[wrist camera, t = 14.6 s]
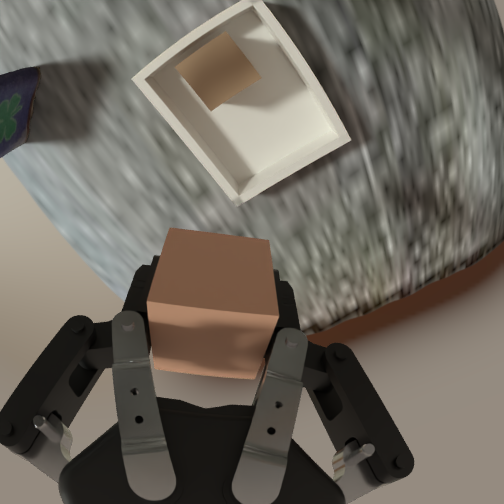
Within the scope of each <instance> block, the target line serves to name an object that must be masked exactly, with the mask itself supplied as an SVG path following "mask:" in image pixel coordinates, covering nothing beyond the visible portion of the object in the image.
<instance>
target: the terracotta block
mask: <svg viewBox="0 0 504 504" xmlns="http://www.w3.org/2000/svg"><path fill="white" fill-rule="evenodd" d="M147 310H148V320H149V329H150V337H151V345H152V353H153V360H154V367H155V369H159V370H165V371H173V372H180V373H188V374H198V375H207V376H217V377H229V378H243V379H255V377H256V375H257V372H258V370H259V367H260V365H261V362H262V359H263V357H264V354H265V352H266V349H267V347H268V344H269V342H270V339H271V336H272V334H273V331H274V328H275V326H276V323H277V320H278V318H279V311H278V303H277V295H276V288H275V280H274V273H273V266H272V258H271V251H270V244H269V240H264V239H256V238H249V237H241V236H233V235H225V234H217V233H209V232H201V231H193V230H185V229H177V228H169V231H168V234H167V237H166V240H165V243H164V246H163V249H162V252H161V255H160V259H159V262H158V265H157V268H156V271H155V275H154V278H153V281H152V285H151V288H150V291H149V295H148V298H147Z"/></svg>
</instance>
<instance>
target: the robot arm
mask: <svg viewBox="0 0 504 504" xmlns="http://www.w3.org/2000/svg"><path fill="white" fill-rule="evenodd" d="M159 259H160V256H157V255H154V257H153V260H152V263H151V266H150V265H142V266H141V267H140V268H139V269H138V270H137V271H136V272H135V275H134V278H133V281H132V283H131V287H130V289H129V291H128V294H127V297H126V300H125V303H124V306H123V309H122V311H121V312H120V313H118V314H117V315H116V316H115V317H114V318H113V320H111V321H108V322H100V323H93V322H92V320H91V319H90V318H88V317H86V316H83V315H77V316H74V317H72V318H70V319H69V320H68V321H67V322H66V323H65V324H64V326H63V327H62V328H61V329H60V330H59V332H58V333H57V334H56V335H55V337H54V338H53V339H52V340H51V342H50V343H49V344H48V346H47V347H46V348H45V350H44V351H43V352H42V353H41V355H40V356H39V357H38V359H37V360H36V361H35V363H34V364H33V365H32V367H31V368H30V369H29V371H28V372H27V374H26V375H25V377H24V378H23V379H22V381H21V382H20V383H19V385H18V386H17V388H16V389H15V390H14V392H13V394H12V395H11V396H10V398H9V399H8V401H7V402H6V404H5V405H4V407H3V409H2V410H1V412H0V443H1V444H2V445H4V446H5V447H7V448H8V449H9V450H10V451H12V452H13V453H14V454H16V455H18V456H19V457H21V458H23V459H24V460H26V461H29V462H30V463H31V464H33V465H34V466H36V467H37V468H38V469H39V470H41V471H42V472H43V473H45V474H46V475H47V476H49V477H50V478H52V479H53V480H54V481H56V482H57V483H58V484H59V493H60V496H61V498H62V501H63V503H64V504H348V503H350V502H352V501H353V500H355V499H357V498H359V497H361V496H363V495H365V494H367V493H368V492H370V491H372V490H374V489H377V488H380V487H382V486H385V485H387V484H390V483H392V482H395V481H397V480H400V479H402V478H404V477H406V476H408V475H409V474H410V473H411V472H412V470H413V467H414V458H413V455H412V453H411V451H410V450H409V448H408V446H407V444H406V443H405V441H404V439H403V437H402V435H401V434H400V432H399V430H398V428H397V427H396V425H395V423H394V421H393V420H392V418H391V416H390V414H389V413H388V411H387V409H386V408H385V406H384V404H383V402H382V400H381V399H380V397H379V395H378V394H377V392H376V390H375V388H374V387H373V385H372V383H371V382H370V380H369V378H368V377H367V375H366V373H365V372H364V370H363V368H362V367H361V365H360V363H359V362H358V360H357V358H356V357H355V355H354V353H353V352H352V350H351V349H350V348H349V347H348V346H346V345H344V344H341V343H332V344H330V345H329V346H328V347H327V348H326V347H322V346H319V345H316V344H313V343H311V342H310V341H308V340H307V337H306V336H305V335H304V334H303V333H302V332H301V330H300V324H299V319H298V313H297V308H296V303H295V299H294V298H295V297H294V292H293V289H292V287H291V286H290V284H289V283H288V282H287V281H280V277H279V271H278V270H275V269H273V273H274V280H275V288H276V295H277V303H278V311H279V318H278V320H277V323H276V326H275V328H274V331H273V334H272V336H271V339H270V342H269V344H268V347H267V349H266V352H265V354H264V357H263V358H265V366H264V369H263V372H262V375H261V378H260V382H259V385H258V388H257V392H256V394H255V398H254V401H253V403H252V406H247V405H227V406H221V407H214V408H202V407H199V406H195V405H193V404H190V403H187V402H184V401H181V400H176V399H168V398H161V397H156V392H155V387H154V382H153V377H152V372H151V365H150V359H149V355H150V350H151V346H152V345H151V337H150V329H149V320H148V310H147V298H148V295H149V291H150V288H151V285H152V281H153V278H154V275H155V271H156V268H157V265H158V262H159ZM105 368H112V372H113V384H114V393H115V402H116V409H117V416H118V422H117V423H116V424H114V425H113V426H112V427H111V428H110V429H109V430H107V431H106V432H105V433H104V434H103V435H101V436H100V437H99V438H98V439H97V440H95V441H94V442H93V443H92V444H91V445H89V446H88V447H87V448H86V449H84V450H83V451H82V452H81V453H80V454H78V455H77V456H76V457H75V458H73V459H72V460H71V457H70V448H71V445H72V434H71V432H70V430H69V429H68V428H69V426H70V424H71V422H72V421H73V419H74V417H75V416H76V414H77V412H78V411H79V409H80V407H81V406H82V404H83V403H84V401H85V399H86V398H87V396H88V394H89V393H90V391H91V390H92V388H93V386H94V385H95V383H96V382H97V380H98V379H99V377H100V375H101V374H102V372H103V371H104V369H105ZM303 387H305V388H306V390H307V392H308V394H309V396H310V398H311V400H312V402H313V404H314V406H315V408H316V410H317V412H318V414H319V416H320V418H321V421H322V423H323V425H324V427H325V429H326V431H327V433H328V435H329V437H330V439H331V441H332V443H333V445H334V447H335V449H336V451H337V452H336V453H335V455H334V457H333V460H332V465H333V469H334V477H333V479H332V478H330V477H329V476H328V475H327V474H326V473H325V472H324V471H323V470H322V469H321V468H320V467H319V466H318V465H317V464H316V463H315V462H314V461H313V460H312V459H311V458H310V457H309V456H308V455H307V454H306V453H305V452H304V450H303V449H302V448H301V447H300V446H299V445H298V444H297V443H296V442H295V441H294V440H293V439H292V434H293V429H294V425H295V421H296V416H297V412H298V407H299V402H300V398H301V393H302V388H303Z"/></svg>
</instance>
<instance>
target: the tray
mask: <svg viewBox="0 0 504 504" xmlns="http://www.w3.org/2000/svg"><path fill="white" fill-rule="evenodd" d="M225 31H226V32H227V33H228V35H229V36H230V37H231V38H232V40H233V41H234V42H235V43H236V45H237V46H238V47H239V48H240V50H241V51H242V52H243V54H244V55H245V56H246V57H247V59H248V60H249V61H250V63H251V64H252V65H253V67H254V68H255V69H256V71H257V72H258V74H259V75H260V76H261V79H259V80H258V81H256V82H255V83H253V84H251V85H250V86H248V87H247V88H245V89H244V90H242V91H240V92H239V93H237V94H236V95H234V96H233V97H231V98H230V99H228V100H227V101H225V102H224V103H222V104H221V105H220V106H218V107H217V108H215V109H214V110H212V111H210V110H209V109H208V107H207V106H206V105H205V104H204V102H203V101H202V100H201V99H200V97H199V96H198V95H197V94H196V93H195V91H194V90H193V89H192V88H191V86H190V85H189V84H188V83H187V82H186V80H185V79H184V78H183V77H182V75H181V74H180V73H179V72H178V71H177V69H176V68H175V66H176V65H178V64H179V63H180V62H182V61H183V60H184V59H186V58H187V57H188V56H190V55H191V54H192V53H194V52H195V51H197V50H198V49H200V48H201V47H202V46H204V45H205V44H207V43H208V42H210V41H211V40H213V39H214V38H216V37H217V36H219V35H220V34H222V33H223V32H225ZM132 80H133V81H134V83H135V84H136V85H137V86H138V87H139V89H140V90H141V91H142V92H143V93H144V95H145V96H146V97H147V98H148V99H149V101H150V102H151V103H152V104H153V105H154V106H155V108H156V109H157V110H158V111H159V112H160V114H161V115H162V116H163V117H164V118H165V120H166V121H167V122H168V123H169V125H170V126H171V127H172V128H173V129H174V131H175V132H176V133H177V134H178V135H179V137H180V138H181V139H182V140H183V141H184V143H185V144H186V145H187V146H188V148H189V149H190V150H191V151H192V152H193V154H194V155H195V156H196V157H197V159H198V160H199V161H200V162H201V163H202V165H203V166H204V167H205V168H206V170H207V171H208V172H209V173H210V174H211V176H212V177H213V178H214V179H215V181H216V182H217V183H218V184H219V186H220V187H221V188H222V189H223V191H224V192H225V193H226V194H227V195H228V197H229V198H230V199H231V200H232V202H233V203H234V204H235V205H236V207H237V206H239V205H241V204H242V203H244V202H246V201H247V200H249V199H251V198H252V197H254V196H255V195H257V194H259V193H260V192H262V191H264V190H265V189H267V188H269V187H270V186H272V185H274V184H276V183H277V182H279V181H281V180H282V179H284V178H286V177H287V176H289V175H291V174H293V173H294V172H296V171H298V170H299V169H301V168H303V167H305V166H306V165H308V164H310V163H312V162H313V161H315V160H317V159H319V158H320V157H322V156H324V155H326V154H328V153H329V152H331V151H333V150H335V149H337V148H338V147H340V146H342V145H344V144H346V143H347V142H349V141H351V139H350V137H349V135H348V133H347V131H346V129H345V127H344V125H343V123H342V122H341V120H340V118H339V116H338V114H337V112H336V111H335V109H334V107H333V105H332V104H331V102H330V100H329V98H328V97H327V95H326V93H325V92H324V90H323V88H322V87H321V85H320V83H319V82H318V80H317V78H316V77H315V75H314V73H313V72H312V70H311V69H310V67H309V66H308V64H307V63H306V61H305V59H304V58H303V56H302V55H301V53H300V52H299V50H298V49H297V47H296V46H295V45H294V43H293V42H292V40H291V39H290V37H289V36H288V34H287V33H286V32H285V30H284V29H283V28H282V26H281V25H280V23H279V22H278V21H277V19H276V18H275V17H274V15H273V14H272V13H271V11H270V10H269V9H268V8H267V6H266V5H265V4H264V2H263V1H262V0H242V1H240V2H238V3H236V4H235V5H233V6H231V7H229V8H228V9H226V10H224V11H223V12H221V13H219V14H218V15H216V16H215V17H213V18H211V19H210V20H208V21H207V22H205V23H204V24H202V25H201V26H199V27H198V28H196V29H195V30H193V31H192V32H190V33H189V34H187V35H186V36H185V37H183V38H182V39H180V40H179V41H178V42H176V43H175V44H174V45H172V46H171V47H170V48H168V49H167V50H166V51H164V52H163V53H162V54H160V55H159V56H158V57H157V58H155V59H154V60H153V61H152V62H151V63H149V64H148V65H147V66H146V67H144V68H143V69H142V70H141V71H140V72H139V73H137V74H136V75H135V76H134V77H133V78H132Z"/></svg>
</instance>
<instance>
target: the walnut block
mask: <svg viewBox="0 0 504 504" xmlns="http://www.w3.org/2000/svg"><path fill="white" fill-rule="evenodd" d="M175 68H176V69H177V71H178V72H179V73H180V74H181V75H182V77H183V78H184V79H185V80H186V82H187V83H188V84H189V85H190V86H191V88H192V89H193V90H194V91H195V93H196V94H197V95H198V96H199V97H200V99H201V100H202V101H203V102H204V104H205V105H206V106H207V107H208V109H209V110H210V111H212V110H214V109H215V108H217V107H218V106H220V105H221V104H222V103H224V102H225V101H227V100H228V99H230V98H231V97H233V96H234V95H236V94H237V93H239V92H240V91H242V90H244V89H245V88H247V87H248V86H250V85H251V84H253V83H255V82H256V81H258V80H259V79H261V76H260V75H259V74H258V72H257V71H256V69H255V68H254V67H253V65H252V64H251V63H250V61H249V60H248V59H247V57H246V56H245V55H244V54H243V52H242V51H241V50H240V48H239V47H238V46H237V45H236V43H235V42H234V41H233V40H232V38H231V37H230V36H229V35H228V33H227V32H226V31H225V32H223V33H222V34H220V35H219V36H217V37H216V38H214V39H213V40H211V41H210V42H208V43H207V44H205V45H204V46H202V47H201V48H200V49H198V50H197V51H195V52H194V53H192V54H191V55H190V56H188V57H187V58H186V59H184V60H183V61H182V62H180V63H179V64H178V65H176V66H175Z"/></svg>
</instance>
